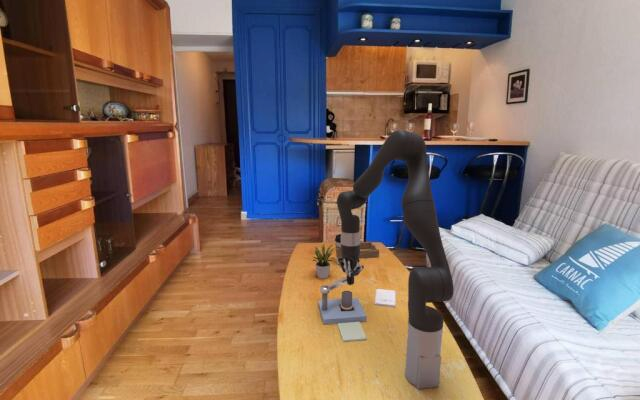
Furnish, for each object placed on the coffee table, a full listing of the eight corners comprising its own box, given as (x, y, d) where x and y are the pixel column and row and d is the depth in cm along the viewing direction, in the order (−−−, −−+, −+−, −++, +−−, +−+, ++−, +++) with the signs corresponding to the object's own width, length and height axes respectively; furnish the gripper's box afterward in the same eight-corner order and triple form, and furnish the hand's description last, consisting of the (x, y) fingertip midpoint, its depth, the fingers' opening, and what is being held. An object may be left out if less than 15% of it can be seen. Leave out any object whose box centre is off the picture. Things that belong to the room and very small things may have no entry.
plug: (353, 315, 132) (354, 295, 131) (341, 315, 132) (342, 296, 130) (351, 308, 137) (351, 289, 135) (339, 309, 136) (339, 290, 134)
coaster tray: (378, 257, 188) (379, 250, 188) (353, 258, 187) (353, 251, 186) (371, 248, 202) (371, 241, 201) (347, 249, 200) (348, 242, 199)
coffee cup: (332, 265, 178) (332, 237, 175) (336, 259, 186) (337, 232, 183) (348, 267, 176) (349, 238, 172) (352, 261, 184) (352, 233, 180)
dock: (366, 321, 128) (367, 299, 126) (323, 324, 126) (323, 302, 124) (357, 302, 142) (357, 282, 140) (318, 304, 140) (318, 284, 138)
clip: (352, 281, 139) (352, 277, 139) (324, 294, 129) (324, 290, 128) (346, 278, 142) (346, 274, 142) (318, 291, 131) (318, 287, 131)
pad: (366, 339, 117) (366, 338, 117) (343, 341, 116) (343, 340, 116) (359, 323, 127) (359, 321, 127) (337, 324, 126) (337, 323, 126)
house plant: (343, 271, 171) (343, 239, 167) (337, 284, 157) (338, 249, 154) (315, 268, 174) (314, 237, 170) (307, 280, 161) (306, 247, 157)
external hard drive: (395, 294, 150) (395, 308, 138) (376, 292, 151) (374, 306, 140) (395, 290, 149) (395, 305, 138) (376, 288, 151) (374, 302, 139)
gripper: (369, 244, 131) (369, 287, 134) (346, 236, 141) (346, 276, 144) (355, 248, 126) (354, 293, 130) (332, 240, 137) (332, 281, 140)
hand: (350, 284), depth 137 cm, fingers closed
